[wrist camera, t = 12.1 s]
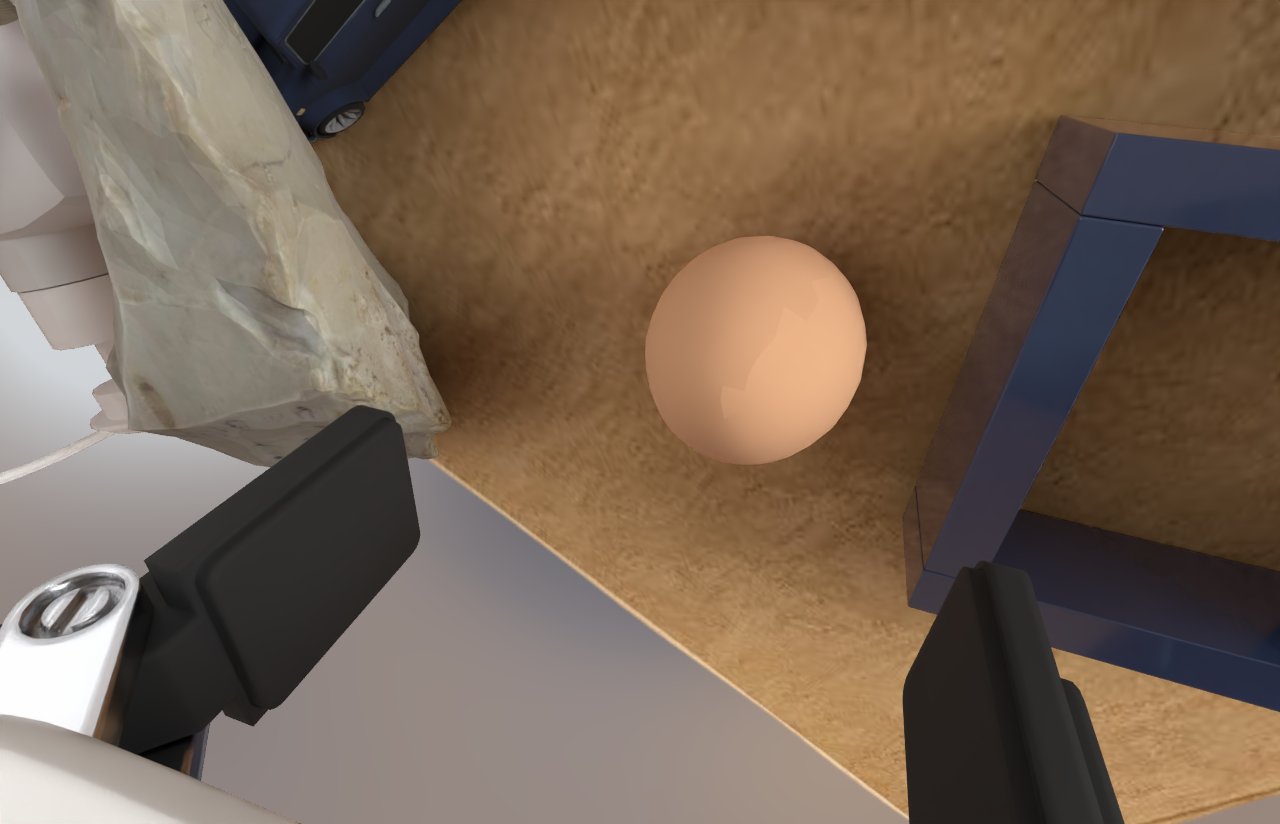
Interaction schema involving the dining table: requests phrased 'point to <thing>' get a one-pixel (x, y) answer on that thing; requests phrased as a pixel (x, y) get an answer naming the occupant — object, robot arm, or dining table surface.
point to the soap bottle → (51, 234)
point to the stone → (222, 237)
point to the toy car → (334, 51)
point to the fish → (7, 12)
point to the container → (1048, 387)
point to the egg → (755, 350)
